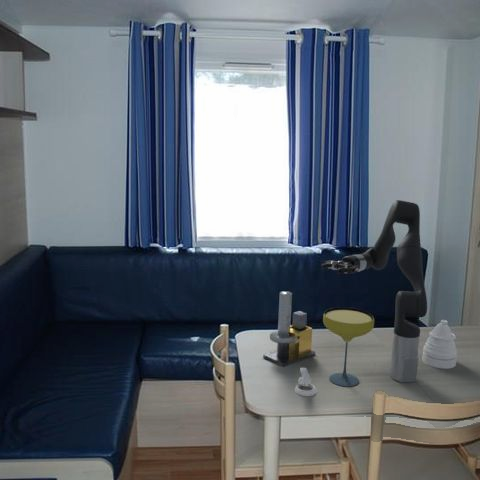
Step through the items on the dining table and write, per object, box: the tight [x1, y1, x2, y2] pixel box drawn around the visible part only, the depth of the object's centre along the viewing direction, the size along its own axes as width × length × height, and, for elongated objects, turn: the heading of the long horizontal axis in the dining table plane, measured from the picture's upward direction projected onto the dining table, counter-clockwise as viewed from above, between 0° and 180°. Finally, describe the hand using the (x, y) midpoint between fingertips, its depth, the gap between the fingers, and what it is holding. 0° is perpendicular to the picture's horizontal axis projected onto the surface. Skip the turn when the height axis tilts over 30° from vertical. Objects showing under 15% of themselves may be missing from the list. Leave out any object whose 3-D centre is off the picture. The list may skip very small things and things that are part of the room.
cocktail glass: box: [322, 307, 375, 388], centre depth 199 cm, size 18×18×25 cm
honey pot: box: [421, 319, 458, 369], centre depth 219 cm, size 13×13×18 cm
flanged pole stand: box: [262, 291, 316, 368], centre depth 219 cm, size 19×11×27 cm, turn 132°
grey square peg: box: [292, 310, 308, 331], centre depth 223 cm, size 4×4×16 cm
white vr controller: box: [294, 367, 317, 397], centre depth 190 cm, size 8×12×7 cm
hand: (329, 269), depth 225 cm, fingers open, 8 cm apart
